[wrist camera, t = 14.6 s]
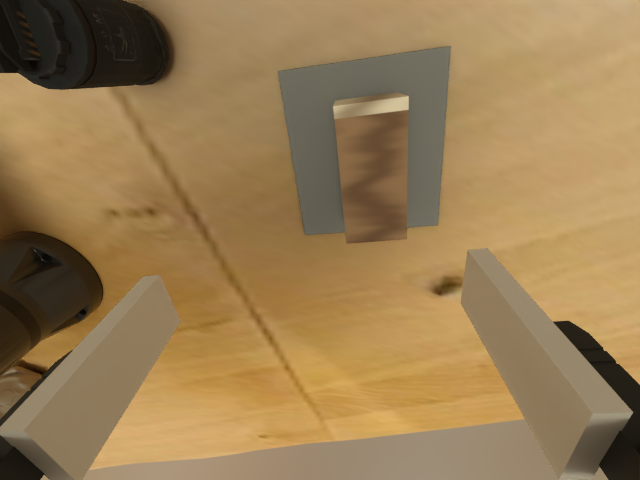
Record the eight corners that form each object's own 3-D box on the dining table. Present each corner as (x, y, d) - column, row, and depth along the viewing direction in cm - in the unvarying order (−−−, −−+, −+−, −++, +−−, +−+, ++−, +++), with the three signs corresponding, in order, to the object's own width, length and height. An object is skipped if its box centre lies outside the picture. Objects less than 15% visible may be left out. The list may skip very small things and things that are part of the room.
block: (346, 243, 31) (333, 106, 24) (346, 218, 36) (335, 100, 30) (406, 239, 30) (408, 96, 24) (397, 214, 35) (397, 92, 29)
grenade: (186, 77, 30) (66, 79, 17) (129, 90, 31) (-26, 102, 18) (155, -12, 27) (-24, -93, 14) (92, 6, 28) (-130, -54, 15)
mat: (305, 233, 38) (305, 235, 37) (279, 71, 29) (277, 71, 29) (436, 223, 36) (437, 225, 35) (448, 46, 27) (450, 46, 27)
